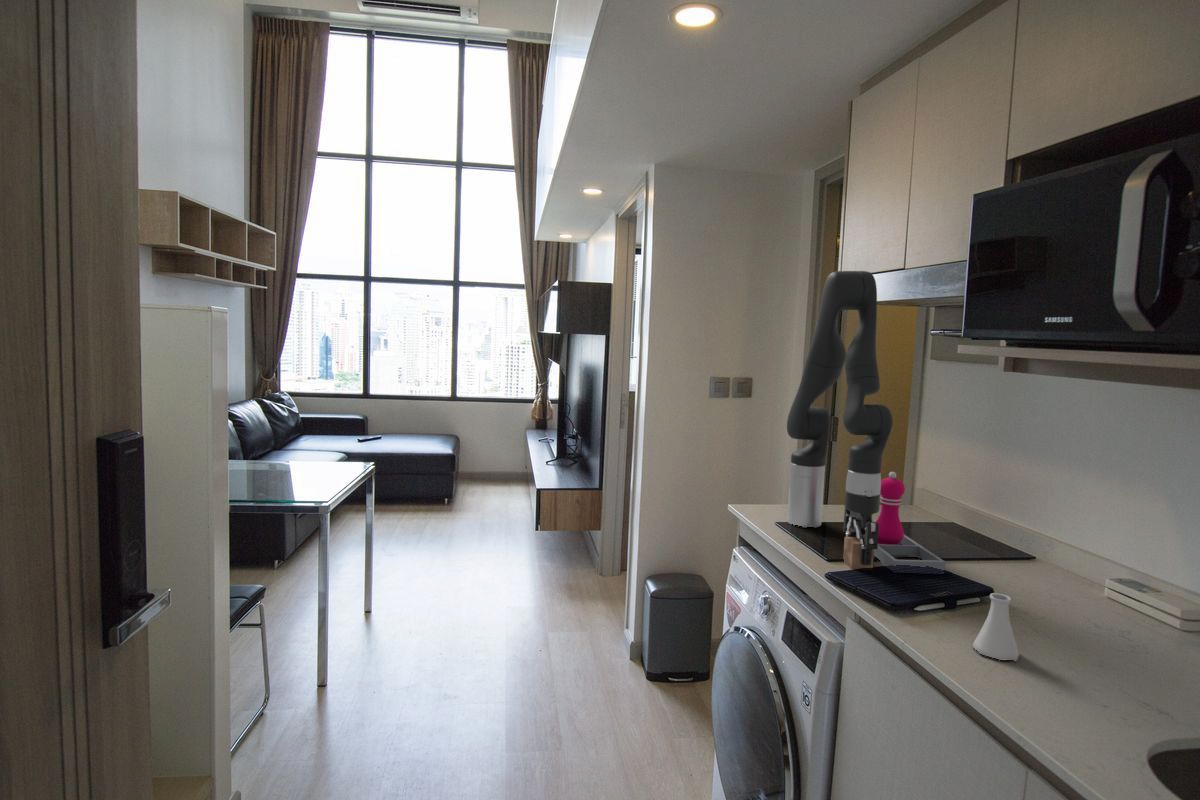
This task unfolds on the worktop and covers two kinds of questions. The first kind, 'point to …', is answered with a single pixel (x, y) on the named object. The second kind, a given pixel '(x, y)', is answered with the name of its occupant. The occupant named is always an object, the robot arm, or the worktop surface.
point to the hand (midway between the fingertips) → (858, 558)
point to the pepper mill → (890, 511)
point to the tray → (907, 549)
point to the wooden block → (854, 553)
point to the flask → (997, 631)
